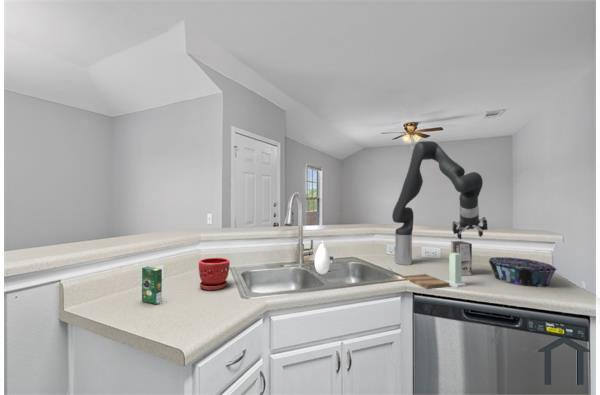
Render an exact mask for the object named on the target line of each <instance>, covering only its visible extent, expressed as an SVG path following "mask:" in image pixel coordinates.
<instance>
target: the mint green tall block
mask: <svg viewBox="0 0 600 395" xmlns="http://www.w3.org/2000/svg"><path fill="white" fill-rule="evenodd" d="M448 262H449V265H448V266H449V270H448V271H449V272H448V274H449V276H448V278H449V279H448V280H446V279H445V280H444V281H445V282H448V283H449V286H453V287H456V288H460V287H461V288H462V287H467V284H466V283H464V282H462V275H461V254H458V253H451V252H450V253H449V260H448Z"/></svg>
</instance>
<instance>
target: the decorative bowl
mask: <svg viewBox="0 0 600 395" xmlns="http://www.w3.org/2000/svg"><path fill="white" fill-rule="evenodd" d="M488 263H489V265H490V268H491V270H492V272H493V275H494V278H495V279H497V280H499V281H500V280H501V281H502V282H505V283H508V284H513V285H517V286H526V287H538V288H539V287H541V286H542V287H547V286H549V284H550V281H551V280H552V278H553V276H554V273H555V272H556V271H557V268H556V267H555V266H553V265H552V264H549V263H547V262H544V261H543V262H542V261H537V260H533V259H527V258H517V257H509V256H507V257H506V256H497V257H491V258H489V260H488Z"/></svg>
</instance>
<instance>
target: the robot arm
mask: <svg viewBox="0 0 600 395" xmlns="http://www.w3.org/2000/svg"><path fill="white" fill-rule="evenodd" d="M412 150H413V151H412V154H411V159H410V163H409V167H408V170H407V173H406V177H405V179H404V182H403V184H402V188H401V190H400V193H399V197H398V199H397V202H396V203H395V205H394V208H393V211H392V217H391V218H392V221H393V222H394V223H397V224H402V226H400V227H398V228H396V229H395V233H394V234H395V237H394V238H395V239H394V240H395V241H394V242H395V246H394V264H398V265H405V266H407V265H409V266H410V265H412V264H413V261H412V260H413V228H414V211H413V209H412V208H411V207H407V205H408V204H409V203H410V202H411V201H412V200H414V199H415V198H416V197H418V194H419V193H420V191H421V189H422V186H423V183H424V180H423V176H422V173H421V165H422V162H423V161H424V160H425V161H426V160H427V161H428V160H434V161H435V162H437V163H438V168H439V170H440V172H441V173H442V174H443V175H444V176H446V177H447V178H448V179H449V180H450V182H451V183H452V185H453V187H454V189H455V190H456V192H458V193H460V194H459V206H458V207H459V221H458V222H456V221H452V232H453V234H454V235H457V238H458V239H459V240H462V233H464V232H465V231H466V230H474V229H476V230H477V232H478V233H477V234H478V237H479V238H482V236H483V235H484V231H487V230H488V229H489V228H488V221H487V218H486V217H485V216H483V217H482V218H481V219H480V216H479V214H480V208H479V195H480V193H481V191H482V188H483V178H482V175H481V174H480V173H479V172H476V171H475V172H474V171H473V172H468V173H467V174H466V172H465V169H464V168H463V167H462V165H460V164H458V163H457V162H456V161H454V160H453V159H452V158H451V157H450V156H449V155H448V154H447V152H445V151H444V150H443V149H442V147H441V146H440V145H439V144H438V143H437V142H435V141H431V140H427V141H424V140H423V141H418V142H416V144H414V147H413V149H412ZM480 223H481V224H482V226H481V225H480Z"/></svg>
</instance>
